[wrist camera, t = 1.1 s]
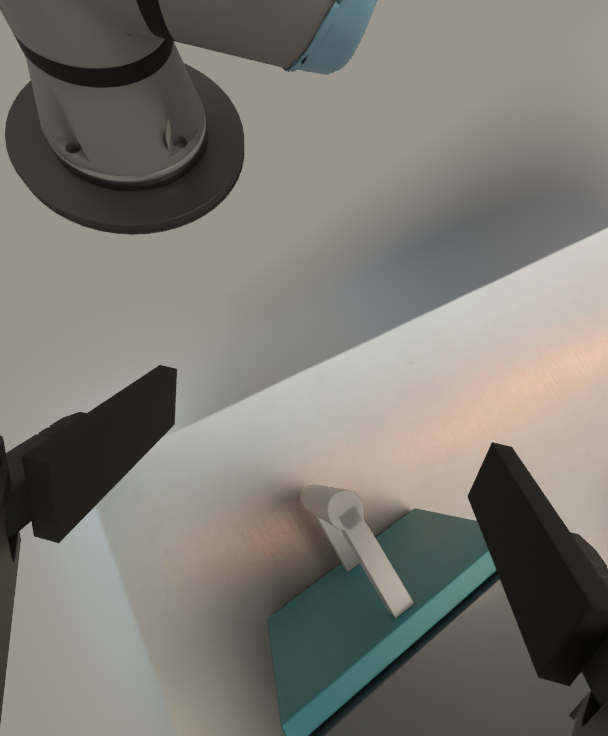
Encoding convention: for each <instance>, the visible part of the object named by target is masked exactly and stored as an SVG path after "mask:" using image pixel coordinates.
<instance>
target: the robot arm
mask: <svg viewBox="0 0 608 736" xmlns="http://www.w3.org/2000/svg"><path fill="white" fill-rule="evenodd" d="M376 2H377V0H0V10H1V12H2V14H3V15H4V17H5V19H6V21H7V23H8V25H9V27H10V28H11V30H12V32H13V34H14V36H15V37H16V39H17V41H18V43H19V45H20V47H21V49H22V51H23V53H24V55H25V57H26V59H27V64H28V68H29V73H30V78H31V82H32V87H33V92H34V97H35V101H36V106H37V111H38V115H39V120H40V125H41V128H42V131H43V133H44V135H45V137H46V139H47V141H48V142H49V144H50V146H51V147H52V149H53V151H54V152H55V154H56V156H57V157H58V158H59V160H60V161H61V162H62V163H63V164H64V165H65V166H66V167H67V168H68V169H69V170H70V171H71V172H73V173H74V174H75V175H77V176H78V177H80V178H82V179H84V180H86V181H88V182H90V183H92V184H95V185H98V186H101V187H105V188H109V189H114V190H122V191H140V190H148V189H154V188H158V187H161V186H164V185H167V184H170V183H172V182H174V181H176V180H178V179H179V178H181V177H183V176H184V175H185V174H187V173H188V172H189V171H190V170H191V169H193V167H194V166H195V165H196V164H197V163H198V161H199V160H200V159H201V157H202V155H203V153H204V150H205V147H206V143H207V127H206V119H205V111H204V108H203V104H202V102H201V100H200V98H199V95H198V93H197V91H196V89H195V87H194V85H193V83H192V80H191V78H190V76H189V74H188V72H187V70H186V67H185V65H184V63H183V61H182V59H181V57H180V55H179V52H178V50H177V48H176V46H175V44H174V41H176V42H180V43H184V44H188V45H192V46H196V47H201V48H205V49H209V50H213V51H217V52H221V53H225V54H229V55H234V56H238V57H242V58H246V59H250V60H254V61H258V62H262V63H266V64H270V65H275V66H279V67H282V68H283V69H284V70H285V71H288V72H289V71H296V70H303V71H308V72H314V73H320V74H330V73H333V72H335V71H338V70H340V69H341V68H343V67H344V66H345V65H346V64H347V63H348V61H349V60H350V59H351V57H352V56H353V54H354V52H355V51H356V49H357V47H358V45H359V43H360V41H361V38H362V37H363V35H364V33H365V30H366V28H367V25H368V23H369V20H370V18H371V16H372V13H373V10H374V8H375V5H376ZM176 379H177V369H174V368H170V367H166V366H161V365H159V366H158V367H156V368H155V369H153V370H152V371H150V372H149V373H147V374H146V375H144V376H143V377H141V378H140V379H138V380H136V381H135V382H134V383H132V384H130V385H129V386H128V387H126V388H124V389H123V390H122V391H120V392H118V393H117V394H115V395H114V396H112V397H111V398H109V399H108V400H107V401H105V402H103V403H102V404H100V405H99V406H97V407H96V408H94V409H93V410H91V411H90V412H88V413H83V412H78V413H75V414H72V415H70V416H66V417H63V418H62V419H60V420H58V421H57V422H55V423H54V424H52V425H50V427H49V428H46V429H44V430H42V431H41V432H39V434H38V435H34V436H33V437H31V438H30V439H28V440H26V441H25V442H23V443H22V444H20V445H18V446H17V447H15V448H14V449H12V450H10V451H9V452H7V453H6V452H5V447H4V441H3V437H2V436H0V722H1V713H2V704H3V695H4V686H5V676H6V668H7V659H8V650H9V640H10V632H11V623H12V613H13V605H14V596H15V586H16V578H17V569H18V560H19V551H20V542H21V538H20V532H19V531H20V530H21V529H22V528H24V527H25V526H26V525H27V524H28V523H29V522H30V521H32V526H33V533H34V536H35V537H39V538H42V539H46V540H50V541H53V542H56V543H59V542H60V541H61V540H62V539H63V538H64V537H65V536H66V535H67V534H68V533H69V532H70V531H71V530H72V529H73V528H74V527H75V526H76V525H77V524H78V523H79V522H80V521H81V520H82V519H83V518H84V517H85V516H86V515H87V514H88V513H89V512H90V511H91V510H92V509H93V508H94V507H95V506H96V505H97V504H98V502H99V501H100V500H101V499H102V498H103V497H104V496H105V495H106V494H107V493H108V492H109V491H110V490H111V489H112V488H113V487H114V486H115V485H116V484H117V483H118V482H119V481H120V480H121V479H122V478H123V477H124V476H125V475H126V474H127V473H128V472H129V471H130V470H131V469H132V468H133V467H134V466H135V464H136V463H137V462H138V461H139V460H140V459H141V458H142V457H143V456H144V455H145V454H146V453H147V452H148V451H149V450H150V449H151V448H152V447H153V446H154V445H155V444H156V443H157V442H158V441H159V440H160V439H161V438H162V437H163V436H164V435H165V434H166V433H167V432H168V431H169V430H170V428H171V427H172V426H173V425H174V424H175V402H176V400H175V399H176ZM468 499H469V501H470V504H471V506H472V509H473V512H474V514H475V517H476V519H477V522H478V524H479V527H480V530H481V532H482V535H483V537H484V540H485V542H486V545H487V548H488V550H489V553H490V555H491V558H492V560H493V563H494V565H495V568H496V571H497V573H498V576H499V578H500V581H501V583H502V586H503V589H504V591H505V594H506V596H507V599H508V601H509V604H510V607H511V609H512V612H513V614H514V617H515V619H516V622H517V625H518V627H519V630H520V632H521V635H522V637H523V640H524V642H525V645H526V648H527V650H528V653H529V655H530V658H531V660H532V663H533V666H534V668H535V671H536V673H537V676H538V678H541V679H545V680H548V681H552V682H555V683H559V684H562V685H566V686H569V687H570V685H571V684H572V683H573V682H574V680H575V679H576V678H577V677H578V675H579V674H580V673H581V672H582V674H583V676H584V678H585V680H586V682H587V684H588V686H589V688H590V691H589V692H588V693H587V695H586V696H585V697H584V698H583V699H582V701H581V702H580V703H579V704H578V705H577V706H576V708H575V709H574V710H573V711H572V712H571V714H570V715H569V716H570V717H571V718H572V719H573V720H575V719H576V718H577V720H576V723H575V726H574V729H573V732H572V735H571V736H608V569H607V565H606V564H605V562H604V561H603V560H602V558H601V557H600V555H599V554H598V553H597V551H596V550H595V549H594V548H593V547H592V546H591V545H590V544H589V543H587V542H586V541H585V540H584V539H583V538H582V537H581V536H580V535H579V534H575V533H571V532H570V531H569V530H568V529H567V527H566V526H565V524H564V523H563V521H562V520H561V518H560V517H559V515H558V514H557V512H556V511H555V509H554V508H553V507H552V505H551V504H550V502H549V501H548V499H547V498H546V496H545V495H544V493H543V492H542V490H541V489H540V488H539V486H538V485H537V483H536V482H535V480H534V479H533V477H532V476H531V474H530V473H529V471H528V470H527V468H526V467H525V466H524V464H523V463H522V461H521V460H520V458H519V457H518V455H517V454H516V452H515V451H514V449H513V448H512V447H510V446H505V445H501V444H497V443H493V442H492V444H491V446H490V448H489V450H488V452H487V455H486V457H485V459H484V461H483V463H482V466H481V468H480V470H479V472H478V475H477V477H476V479H475V481H474V483H473V486H472V488H471V490H470V492H469V494H468Z"/></svg>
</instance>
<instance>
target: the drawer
mask: <svg viewBox="0 0 608 736" xmlns="http://www.w3.org/2000/svg"><path fill="white" fill-rule="evenodd" d="M301 503H302V506H303V507H304V508H305V509H306V510H308V511H309V512H311V513H312V514H314V516H315V518H316V520H317V521H318V523H319V525H320V527H321V528H322V530H323V532H324V534H325V535H326V537H327V539H328V541H329V542H330V544H331V546H332V548H333V549H334V551H335V553H336V555H337V556H338V558H339V560H340V562H341V564H340V565H338V566H337V567H336V568H334V569H333V570H332V571H330V572H329V573H328V574H326V575H325V576H324V577H322V578H321V579H320V580H318V581H317V582H316V583H314V584H313V585H312V586H310V587H309V588H308V589H306V590H305V591H303V592H302V593H301V594H299V595H298V596H297V597H295V598H294V599H293V600H291V601H290V602H289V603H287V604H286V605H285V606H283V607H282V608H281V609H279V610H278V611H277V612H275V613H274V614H273V615H271V616H270V617H269V618H268V619H267V620H268V627H269V635H270V643H271V651H272V658H273V666H274V674H275V682H276V689H277V697H278V705H279V713H280V720H281V727H282V729H283V732H284V734H285V736H309V735H310V734H311V733H312V732H313V731H314V730H315V729H317V728H318V727H319V726H320V725H321V724H322V723H323V722H324V721H326V720H327V719H328V718H329V717H330V716H331V715H332V714H334V713H335V712H336V711H337V710H338V709H339V708H340V707H342V706H343V705H344V704H345V703H346V702H347V701H348V700H350V699H351V698H352V697H353V696H354V695H355V694H356V693H358V692H359V691H360V690H361V689H362V688H363V687H364V686H365V685H367V684H368V683H369V682H370V681H371V680H372V679H373V678H375V677H376V676H377V675H378V674H379V673H380V672H381V671H383V670H384V669H385V668H386V667H387V666H388V665H389V664H391V663H392V662H393V661H394V660H395V659H396V658H397V657H399V656H400V655H401V654H402V653H403V652H404V651H405V650H407V649H408V648H409V647H410V646H411V645H412V644H413V643H414V642H416V641H417V640H418V639H419V638H420V637H421V636H422V635H424V634H425V633H426V632H427V631H428V630H429V629H430V628H432V627H433V626H434V625H435V624H436V623H437V622H438V621H440V620H441V619H442V618H443V617H444V616H445V615H446V614H448V613H449V612H450V611H451V610H452V609H453V608H454V607H455V606H457V605H458V604H459V603H460V602H461V601H462V600H463V599H465V598H466V597H467V596H468V595H469V594H470V593H471V592H473V591H474V590H475V589H476V588H477V587H478V586H479V585H481V584H482V583H483V582H484V581H485V580H486V579H487V578H489V577H490V576H491V575H492V574H493V573H494V572H495V571H496V568H495V565H494V563H493V560H492V558H491V555H490V553H489V550H488V548H487V545H486V542H485V540H484V537H483V535H482V532H481V530H480V527H479V524H478V522H477V521H474V520H469V519H464V518H459V517H454V516H449V515H444V514H440V513H435V512H430V511H425V510H420V509H413V510H412V511H411V512H409V513H408V514H407V515H405V516H404V517H403V518H401V519H400V520H399V521H397V522H396V523H395V524H393V525H392V526H391V527H389V528H388V529H387V530H385V531H384V532H383V533H381V534H380V535H379V536H377V537H376V538H375V537H374V535H373V533H372V532H371V530H370V528H369V526H368V525H367V523H366V521H365V520H364V518H363V516H364V506H363V503H362V500H361V499H360V497H359V496H358V495H357V494H356V493H354V492H352V491H350V490H344V489H338V488H332V487H325V486H319V485H309V486H307V487H306V488H305V489H304V490H303V491H302V493H301Z"/></svg>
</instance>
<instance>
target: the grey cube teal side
mask: <svg viewBox="0 0 608 736" xmlns="http://www.w3.org/2000/svg"><path fill="white" fill-rule="evenodd" d="M589 691H590V688H589V686H588V684H587V682H586V680H585V678H584V676H583V674H582V672H581V673H580V674H579V675H578V677H577V678H576V679H575V680H574V682H573V683H572V684H571V685H570V687H569V686H566V685H562V684H559V683H555V682H552V681H548V680H545V679H541V678H538V676H537V673H536V671H535V668H534V666H533V663H532V660H531V658H530V655H529V653H528V650H527V648H526V645H525V642H524V640H523V637H522V635H521V632H520V630H519V627H518V625H517V622H516V619H515V617H514V614H513V612H512V609H511V607H510V604H509V601H508V599H507V596H506V594H505V591H504V589H503V586H502V583H501V581H500V578H499V576H498V573H497V571H495V572H494V573H493V574H492V575H491V576H490V577H489V578H487V579H486V580H485V581H484V582H483V583H482V584H481V585H479V586H478V587H477V588H476V589H475V590H474V591H473V592H471V593H470V594H469V595H468V596H467V597H466V598H465V599H463V600H462V601H461V602H460V603H459V604H458V605H457V606H455V607H454V608H453V609H452V610H451V611H450V612H449V613H448V614H446V615H445V616H444V617H443V618H442V619H441V620H440V621H438V622H437V623H436V624H435V625H434V626H433V627H432V628H430V629H429V630H428V631H427V632H426V633H425V634H424V635H422V636H421V637H420V638H419V639H418V640H417V641H416V642H414V643H413V644H412V645H411V646H410V647H409V648H408V649H407V650H405V651H404V652H403V653H402V654H401V655H400V656H399V657H397V658H396V659H395V660H394V661H393V662H392V663H391V664H389V665H388V666H387V667H386V668H385V669H384V670H383V671H381V672H380V673H379V674H378V675H377V676H376V677H375V678H373V679H372V680H371V681H370V682H369V683H368V684H367V685H365V686H364V687H363V688H362V689H361V690H360V691H359V692H358V693H356V694H355V695H354V696H353V697H352V698H351V699H350V700H348V701H347V702H346V703H345V704H344V705H343V706H342V707H340V708H339V709H338V710H337V711H336V712H335V713H334V714H332V715H331V716H330V717H329V718H328V719H327V720H326V721H324V722H323V723H322V724H321V725H320V726H319V727H318V728H317V729H315V730H314V731H313V732H312V733H311V734H310V735H309V736H571V735H572V732H573V729H574V726H575V723H576V720H577V718H576V719H575V720H573V719H572V718H571V717H570V716H569V715H570V714H571V712H572V711H573V710H574V709H575V708H576V706H577V705H578V704H579V703H580V702H581V701H582V699H583V698H584V697H585V696H586V695H587V693H588V692H589Z"/></svg>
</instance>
